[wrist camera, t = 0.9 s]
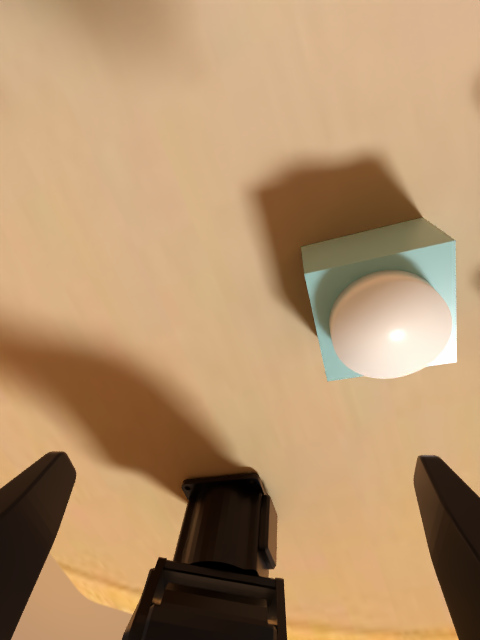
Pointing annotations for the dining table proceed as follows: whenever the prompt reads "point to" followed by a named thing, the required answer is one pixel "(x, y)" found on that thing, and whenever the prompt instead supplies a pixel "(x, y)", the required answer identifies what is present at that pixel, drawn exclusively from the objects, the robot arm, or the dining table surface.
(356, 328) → the teal cube with ball
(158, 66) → the dining table surface
